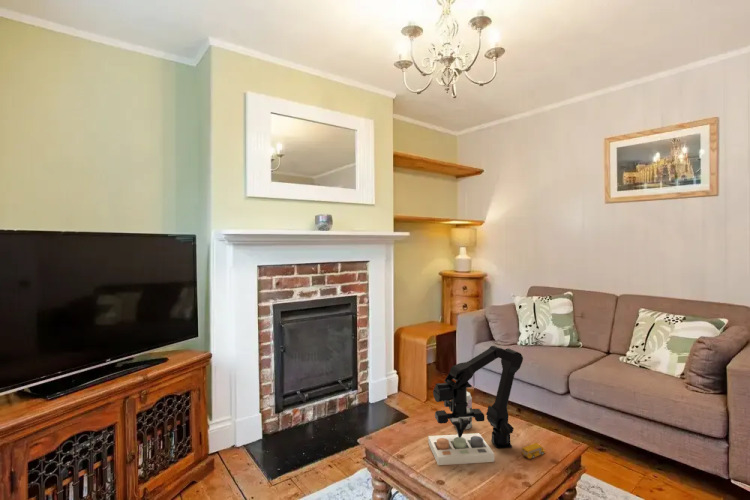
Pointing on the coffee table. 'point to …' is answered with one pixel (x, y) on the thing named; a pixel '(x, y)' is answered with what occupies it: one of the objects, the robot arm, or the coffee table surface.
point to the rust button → (442, 444)
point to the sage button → (459, 443)
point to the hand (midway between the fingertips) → (459, 436)
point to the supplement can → (468, 409)
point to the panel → (460, 451)
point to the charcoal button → (476, 442)
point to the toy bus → (532, 451)
